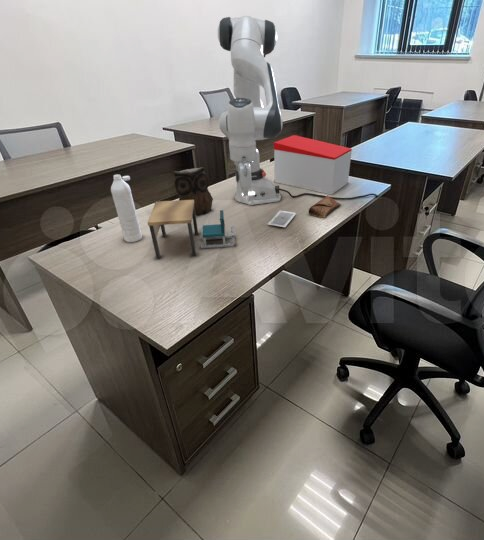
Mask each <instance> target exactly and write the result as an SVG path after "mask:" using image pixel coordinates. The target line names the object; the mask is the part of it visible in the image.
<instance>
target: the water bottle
mask: <svg viewBox="0 0 484 540" xmlns="http://www.w3.org/2000/svg"><path fill="white" fill-rule="evenodd" d="M130 180H131V176H130V175H124V176H122V175H121V174H118V173H117V174H114V175H113V181H112V184H111V186H110V193H111V196H112V200H113V203H114V207H115V210H116V214H117V219H118V221H119V224H120V228H121V233H122V236H123V239H124V241H125V242H127V243H135V242H138V241H140V240H141V239H142V238H143V234H142V231H141V226H140V222H139V218H138V214H137V210H136V206H135V202H134V198H133V194H132V190H131V186H130V185H129V183H127V182H128V181H130ZM126 181H127V182H126Z"/></svg>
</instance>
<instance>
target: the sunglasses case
mask: <svg viewBox="0 0 484 540" xmlns="http://www.w3.org/2000/svg"><path fill="white" fill-rule="evenodd" d="M325 196H326V197H322V199H320V200H319V201H317V202H316V203H314V204H313V205H312V206H310V207H309V209H308V214H309V215H310V216H313V217H317V218H325V219H326V218H327V216H328V215H329V214H331V213H332V212H333V211H335V210H336V209H338V208H339V207H340V206H341V205H342V203H339V202H338V201H337V200H336V199H332V198H331V197H332V196H329V194H327V195H325Z"/></svg>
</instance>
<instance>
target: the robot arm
mask: <svg viewBox="0 0 484 540" xmlns="http://www.w3.org/2000/svg"><path fill="white" fill-rule="evenodd" d="M217 39H218V42H219V45H220V47H221V48H222V49H223V50H224V51H227V52H230V63H231V66H232V68H233V95H234V97H235V98H232V99H231V100H229V101H228V103H227V111H224V112H222V113H221V115H220V116H219V120H218V127H219V130H220V131H221V133H222V134H223V135H224V137H226V138H227V139H228V148H229V150H228V151H229V160H231V161H232V162H233V164H234V165H235V171H234V172H235V182H236V188H235V196H234V200H235V201H236V202H238V203H242V204H246V205H247V206H255V205H262V204H268V203H269V204H270V203H278V202H280V201H281V199H282V196H281V192H283V193H284V192H285V193H287V194H288V196H290V197H291V198H300V197H302V196H314V197H318V198H319V197H320V198H325V197H326V196H327V195H323V194H316V193H311V192H303V193H299V194H298V195H292V193H291V192H290V191H289V190H286V189H283V188H280V185H276V184H275V182H273V181H272V180H270V179H269V178H268V177H266V176H267V173H266V171H265V170H264V169H263V168H261V167H260V166H261V163H260V162H261V161H260V160H261V159H260V152H259V150H258V149H257V141H264V140H268V139H269V140H270V139H271V140H275V139H276V138H277V137H278V136H279V135H280V134H281V133H282V131H283V125H284V122H283V116H282V113H281V110H280V106H279V99H278V93H277V87H276V81H275V77H274V72H273V68H272V65H271V64H270V63H269V61H266V59H265V58H266V57H267V55H270V54H271V53H272V52H273V51H274V50H275V48H276V45H277V41H278V33H277V28H276V25H275V23H274V22H273V21H271V20H268V19H264V20H263V19H259V18H257V17H256V18H255V17H252V16H249V15H243V16H240V17H230V16H226V17H222V18H221V20H220V21H219V23H218V26H217ZM261 87H262V88H263V90H264V96H265V102H266V105H265V106H264V105H263V102H262V97H261ZM370 196H374V197H376V198H379V195H377V194H376V193H368V194H364V195H358V196H357V195H356V196H352V197H351V196H350V197H335V196H330V197H331V198H332V199H333V200H355V199H361V198H365V197H370Z"/></svg>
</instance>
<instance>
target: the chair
mask: <svg viewBox="0 0 484 540" xmlns="http://www.w3.org/2000/svg"><path fill="white" fill-rule="evenodd" d="M219 222H220V223H219V224H218V223H217V224H205V225H203V224H202V233H201V234H202V235H201V236H202V237H201V241H203V244H201V245H200V248H201V249H211V248H214V249H215V248H227V247H234V246H235V245H236V239H235V235H236V233H235V226H230V233H231V234H229V235H226V227H225V226H226V224H225V214H224V209H222V210H221V209H220V210H219ZM226 239H231V242H228V243H226ZM209 240H210V241H211V240H222V243H213V244H207V241H209Z"/></svg>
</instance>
